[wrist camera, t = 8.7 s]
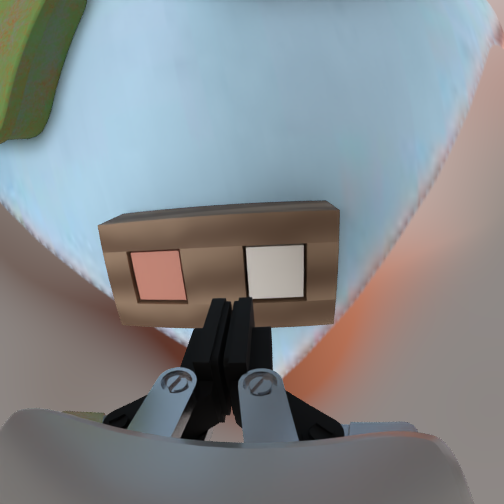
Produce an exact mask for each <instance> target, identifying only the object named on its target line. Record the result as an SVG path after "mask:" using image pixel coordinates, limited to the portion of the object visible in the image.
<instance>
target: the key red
mask: <svg viewBox="0 0 504 504" xmlns="http://www.w3.org/2000/svg"><path fill="white" fill-rule="evenodd" d="M131 257H132V262H133V267H134V272H135V277H136V281H137V286H138V290H139V294H140V298H141V299H145V300H187V293H186V287H185V281H184V275H183V268H182V262H181V255H180V249H167V250H147V251H132V252H131Z"/></svg>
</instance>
